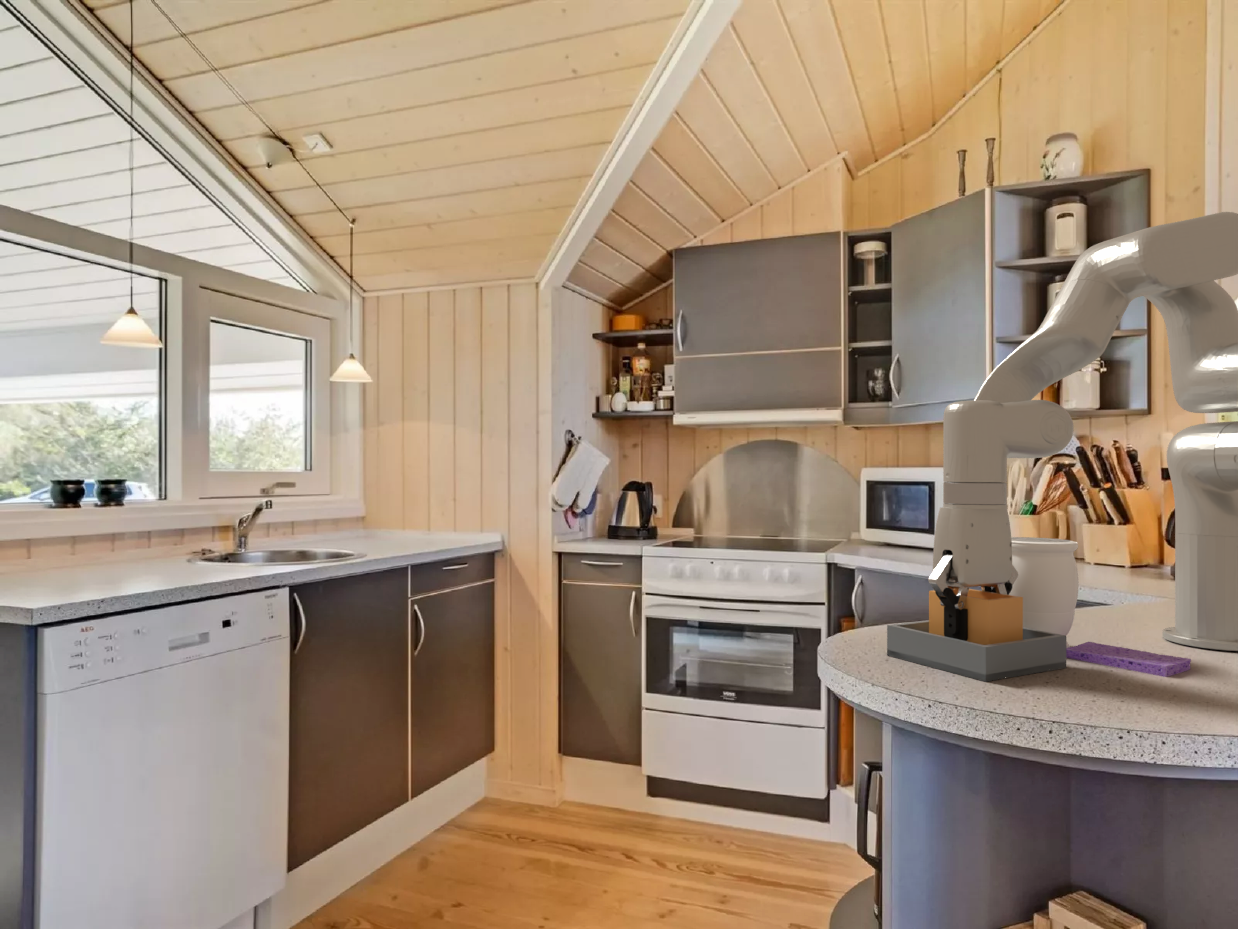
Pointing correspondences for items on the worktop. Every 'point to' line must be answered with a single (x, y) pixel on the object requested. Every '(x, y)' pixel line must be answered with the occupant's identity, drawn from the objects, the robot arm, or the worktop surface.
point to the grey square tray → (977, 652)
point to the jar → (1046, 582)
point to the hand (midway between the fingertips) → (974, 635)
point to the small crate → (983, 617)
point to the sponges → (1129, 659)
